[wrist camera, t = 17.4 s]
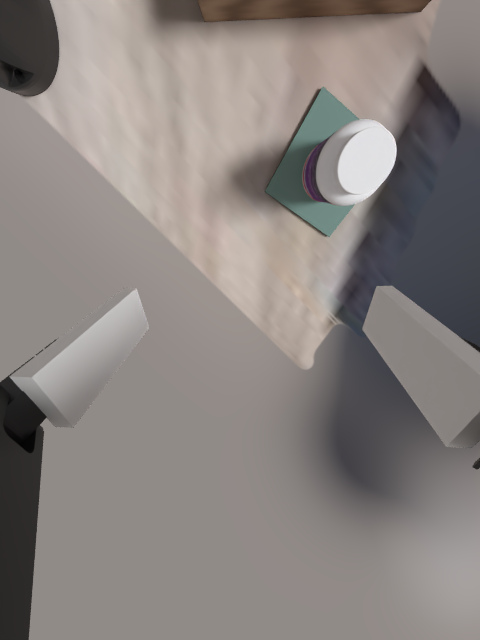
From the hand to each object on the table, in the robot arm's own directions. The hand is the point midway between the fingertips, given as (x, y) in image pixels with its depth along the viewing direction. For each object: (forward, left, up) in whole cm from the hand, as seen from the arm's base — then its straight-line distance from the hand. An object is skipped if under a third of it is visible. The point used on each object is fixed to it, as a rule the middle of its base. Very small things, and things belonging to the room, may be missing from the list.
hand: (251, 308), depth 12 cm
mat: (+5, +12, -32) cm, 34 cm away
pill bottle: (+5, +12, -31) cm, 34 cm away
